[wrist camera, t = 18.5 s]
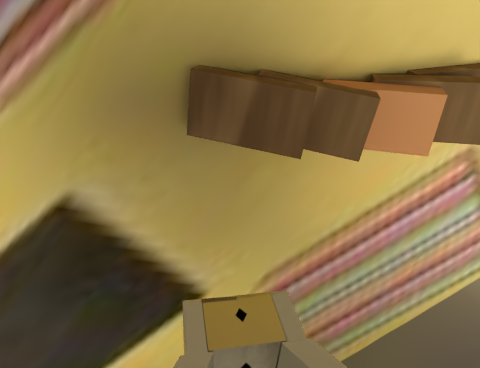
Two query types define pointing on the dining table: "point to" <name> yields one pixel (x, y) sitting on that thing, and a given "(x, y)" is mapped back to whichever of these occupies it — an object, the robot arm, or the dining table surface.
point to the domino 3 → (402, 116)
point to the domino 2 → (336, 117)
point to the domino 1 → (249, 110)
